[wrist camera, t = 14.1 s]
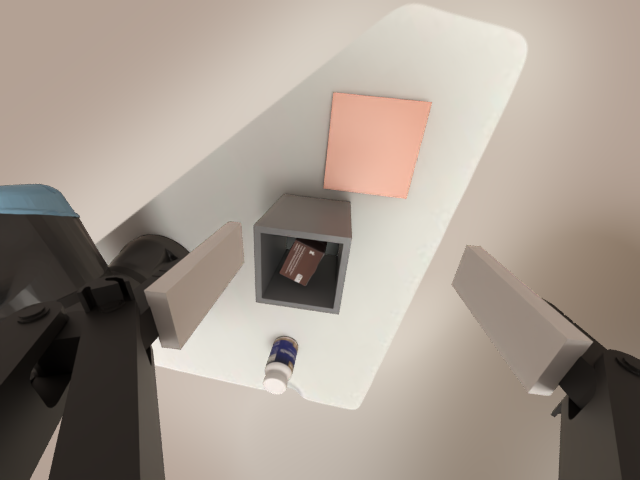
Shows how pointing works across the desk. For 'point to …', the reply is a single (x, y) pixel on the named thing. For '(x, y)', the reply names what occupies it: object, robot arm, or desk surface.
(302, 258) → the box
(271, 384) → the pill bottle
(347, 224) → the bin
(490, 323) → the robot arm
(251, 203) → the desk surface
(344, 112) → the lid
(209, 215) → the desk surface
